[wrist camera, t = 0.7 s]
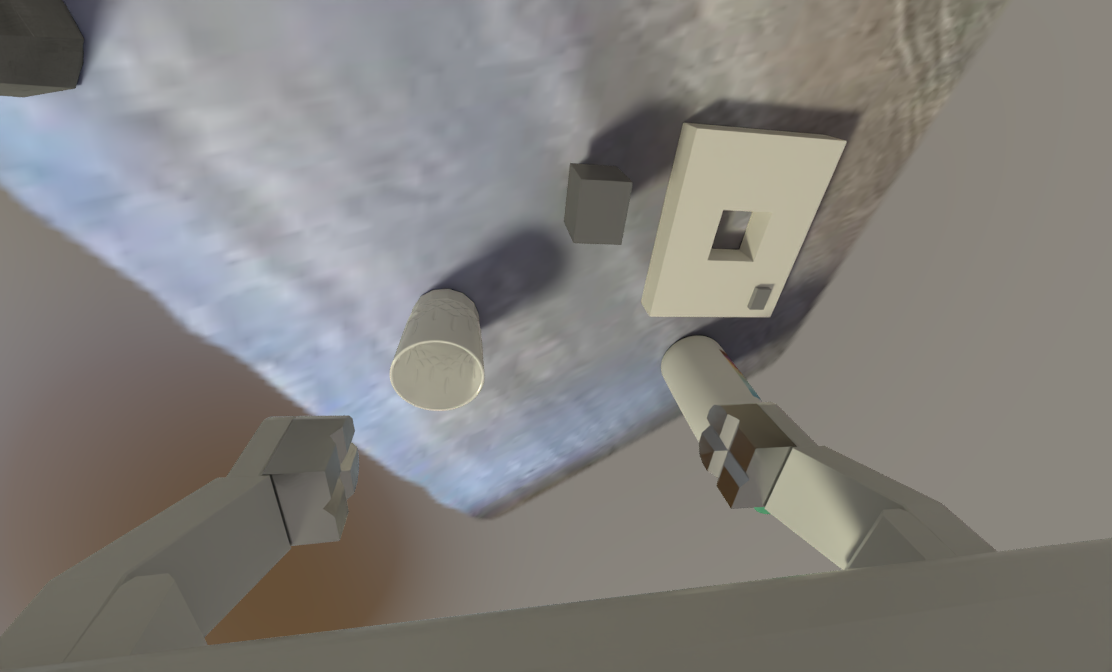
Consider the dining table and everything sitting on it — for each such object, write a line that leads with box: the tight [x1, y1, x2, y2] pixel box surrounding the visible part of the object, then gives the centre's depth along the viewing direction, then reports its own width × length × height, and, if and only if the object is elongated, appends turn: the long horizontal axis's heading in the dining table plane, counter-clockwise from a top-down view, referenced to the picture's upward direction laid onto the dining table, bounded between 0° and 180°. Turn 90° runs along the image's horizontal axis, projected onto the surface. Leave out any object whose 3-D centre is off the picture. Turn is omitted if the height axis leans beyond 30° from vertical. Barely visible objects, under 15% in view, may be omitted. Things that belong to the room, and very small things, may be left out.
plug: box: [564, 163, 633, 245], centre depth 37 cm, size 5×4×7 cm
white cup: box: [390, 289, 485, 411], centre depth 41 cm, size 8×8×10 cm
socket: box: [641, 122, 847, 317], centre depth 42 cm, size 18×14×4 cm
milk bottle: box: [661, 335, 771, 514], centre depth 45 cm, size 8×8×20 cm
